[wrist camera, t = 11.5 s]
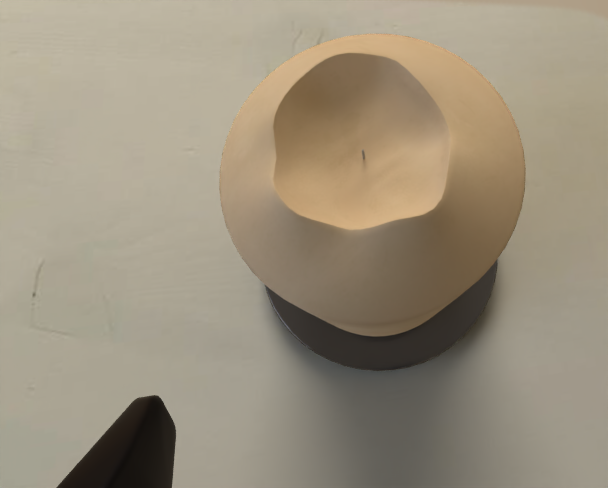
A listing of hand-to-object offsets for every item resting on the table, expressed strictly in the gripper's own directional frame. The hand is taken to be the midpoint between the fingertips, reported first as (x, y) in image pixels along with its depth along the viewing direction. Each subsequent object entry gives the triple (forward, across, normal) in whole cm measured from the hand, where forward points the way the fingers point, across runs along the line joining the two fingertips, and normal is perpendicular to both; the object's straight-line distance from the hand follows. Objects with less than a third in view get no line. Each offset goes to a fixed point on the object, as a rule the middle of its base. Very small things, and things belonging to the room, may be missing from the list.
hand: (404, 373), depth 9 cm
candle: (+8, 0, +3) cm, 9 cm away
